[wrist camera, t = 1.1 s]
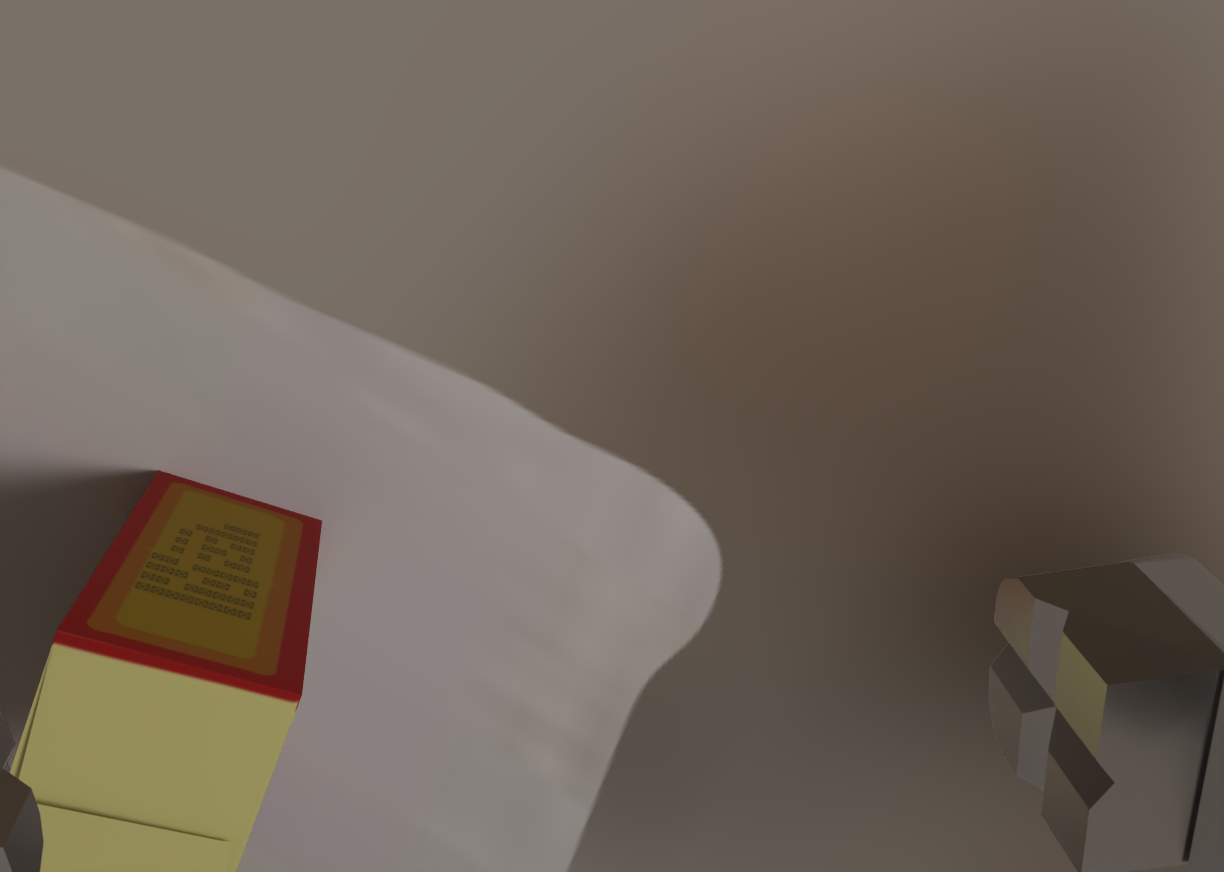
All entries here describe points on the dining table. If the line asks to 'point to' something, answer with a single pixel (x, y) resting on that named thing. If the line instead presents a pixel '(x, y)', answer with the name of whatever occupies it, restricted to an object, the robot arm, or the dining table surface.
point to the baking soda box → (172, 685)
